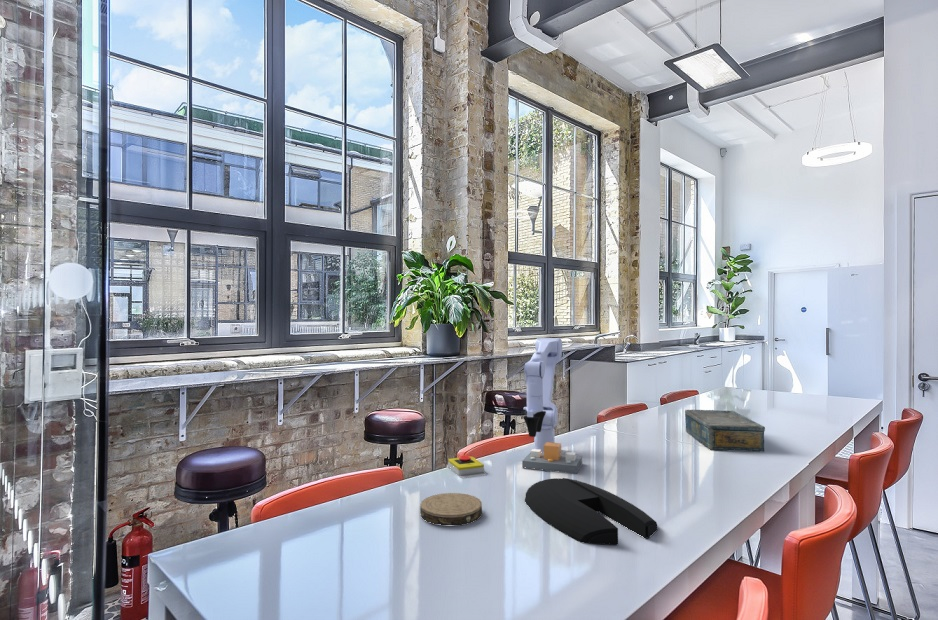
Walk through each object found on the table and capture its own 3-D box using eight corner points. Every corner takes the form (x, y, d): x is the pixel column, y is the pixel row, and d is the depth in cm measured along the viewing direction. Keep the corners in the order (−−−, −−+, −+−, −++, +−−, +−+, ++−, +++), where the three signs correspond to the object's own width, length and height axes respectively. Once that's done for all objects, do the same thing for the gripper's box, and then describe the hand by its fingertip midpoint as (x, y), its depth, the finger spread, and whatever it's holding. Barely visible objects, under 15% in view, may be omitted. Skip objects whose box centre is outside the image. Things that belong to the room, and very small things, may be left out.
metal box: (734, 433, 225) (734, 409, 225) (767, 452, 192) (767, 425, 193) (683, 432, 227) (682, 409, 227) (707, 451, 195) (707, 424, 195)
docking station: (579, 483, 159) (579, 467, 159) (676, 535, 121) (675, 514, 122) (505, 494, 150) (505, 477, 150) (585, 554, 112) (585, 530, 113)
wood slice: (408, 513, 135) (408, 502, 135) (455, 499, 146) (455, 488, 146) (445, 533, 123) (445, 520, 123) (494, 516, 134) (494, 504, 134)
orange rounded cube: (546, 455, 181) (546, 442, 181) (561, 456, 179) (561, 443, 179) (543, 458, 176) (543, 445, 176) (558, 460, 174) (558, 446, 174)
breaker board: (531, 458, 185) (530, 446, 185) (582, 463, 179) (581, 450, 179) (522, 468, 174) (522, 454, 174) (576, 473, 168) (576, 459, 168)
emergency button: (470, 451, 181) (487, 462, 167) (470, 464, 181) (488, 476, 167) (445, 454, 178) (461, 466, 164) (445, 467, 178) (461, 480, 164)
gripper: (528, 392, 191) (529, 428, 191) (518, 397, 178) (518, 437, 177) (547, 392, 189) (548, 430, 189) (538, 399, 175) (538, 439, 175)
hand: (535, 434), depth 183 cm, fingers open, 7 cm apart
